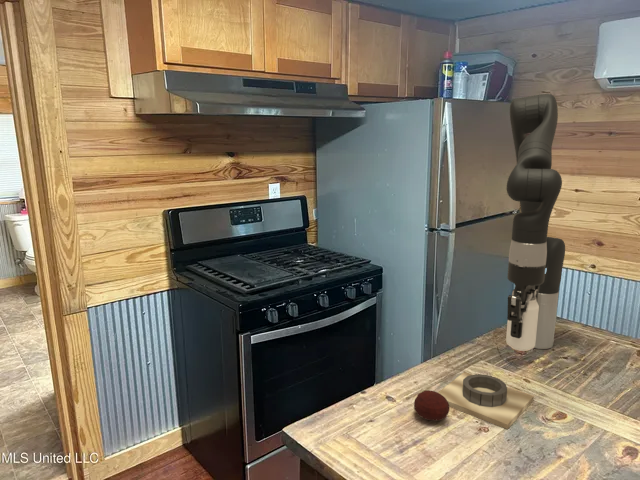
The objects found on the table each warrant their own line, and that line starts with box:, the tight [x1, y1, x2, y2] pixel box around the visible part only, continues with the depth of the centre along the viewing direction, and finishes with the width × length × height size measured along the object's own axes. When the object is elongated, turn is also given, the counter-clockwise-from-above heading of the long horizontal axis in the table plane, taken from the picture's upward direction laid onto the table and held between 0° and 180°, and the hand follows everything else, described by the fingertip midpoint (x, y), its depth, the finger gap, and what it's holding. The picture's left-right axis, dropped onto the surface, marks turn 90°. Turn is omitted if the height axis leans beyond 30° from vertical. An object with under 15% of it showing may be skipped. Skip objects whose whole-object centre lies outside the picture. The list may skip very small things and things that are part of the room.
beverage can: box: [505, 297, 539, 352], centre depth 111 cm, size 6×6×12 cm
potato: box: [413, 389, 450, 421], centre depth 112 cm, size 7×8×6 cm
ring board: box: [437, 371, 535, 430], centre depth 119 cm, size 16×18×4 cm
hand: (520, 332), depth 111 cm, fingers closed on beverage can, 6 cm apart
